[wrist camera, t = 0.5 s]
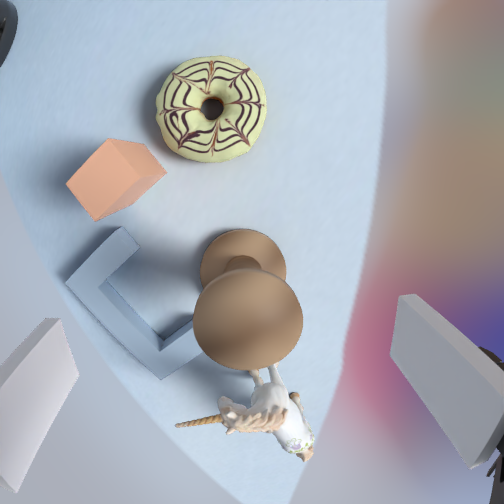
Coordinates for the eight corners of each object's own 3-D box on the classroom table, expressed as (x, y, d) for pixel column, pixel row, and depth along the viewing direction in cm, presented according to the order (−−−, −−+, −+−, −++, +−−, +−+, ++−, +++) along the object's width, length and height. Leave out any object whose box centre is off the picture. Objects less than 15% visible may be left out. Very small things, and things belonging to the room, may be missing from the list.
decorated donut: (163, 166, 32) (154, 166, 28) (161, 68, 29) (153, 57, 25) (265, 160, 32) (269, 160, 28) (262, 61, 29) (265, 50, 25)
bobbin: (183, 264, 34) (160, 317, 22) (249, 211, 33) (259, 240, 21) (236, 322, 36) (239, 392, 25) (300, 275, 35) (332, 330, 23)
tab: (110, 176, 31) (65, 183, 22) (143, 144, 31) (108, 138, 21) (132, 204, 32) (95, 221, 23) (167, 172, 32) (140, 177, 22)
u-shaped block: (74, 275, 34) (65, 282, 31) (122, 226, 33) (114, 231, 30) (164, 368, 38) (160, 380, 35) (217, 331, 37) (216, 342, 34)
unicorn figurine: (231, 310, 36) (232, 385, 23) (332, 395, 41) (360, 467, 28) (189, 347, 37) (174, 426, 24) (293, 423, 42) (309, 495, 29)
